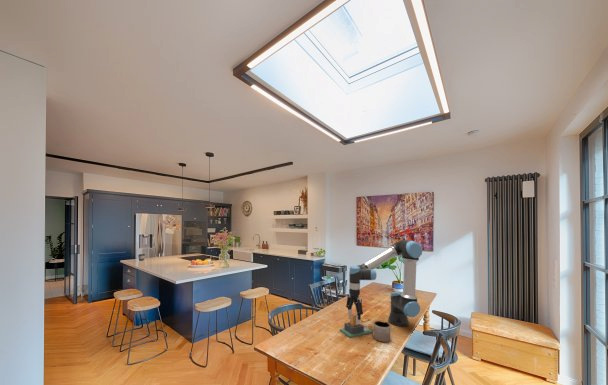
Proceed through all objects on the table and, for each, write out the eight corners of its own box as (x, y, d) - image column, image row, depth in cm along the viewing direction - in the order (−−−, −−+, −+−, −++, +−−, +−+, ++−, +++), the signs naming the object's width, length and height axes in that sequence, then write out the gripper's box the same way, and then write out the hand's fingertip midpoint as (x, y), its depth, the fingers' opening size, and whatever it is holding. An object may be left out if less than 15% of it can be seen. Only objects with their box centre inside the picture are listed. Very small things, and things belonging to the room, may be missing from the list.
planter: (379, 343, 165) (379, 328, 166) (370, 335, 175) (370, 321, 176) (393, 341, 168) (393, 326, 169) (384, 334, 178) (384, 320, 179)
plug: (355, 328, 182) (355, 313, 183) (357, 329, 180) (357, 314, 181) (350, 329, 180) (350, 314, 181) (352, 330, 178) (352, 315, 179)
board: (361, 326, 190) (362, 319, 191) (372, 333, 180) (372, 325, 180) (339, 330, 182) (339, 323, 182) (349, 338, 171) (349, 329, 172)
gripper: (341, 285, 191) (341, 316, 189) (359, 293, 172) (359, 328, 169) (349, 284, 194) (349, 315, 192) (368, 292, 175) (368, 326, 173)
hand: (354, 321), depth 181 cm, fingers open, 9 cm apart
